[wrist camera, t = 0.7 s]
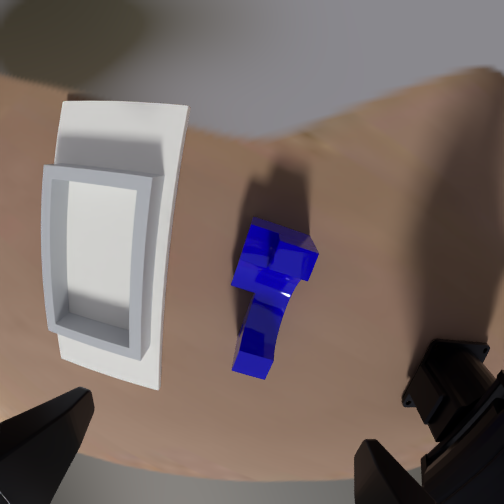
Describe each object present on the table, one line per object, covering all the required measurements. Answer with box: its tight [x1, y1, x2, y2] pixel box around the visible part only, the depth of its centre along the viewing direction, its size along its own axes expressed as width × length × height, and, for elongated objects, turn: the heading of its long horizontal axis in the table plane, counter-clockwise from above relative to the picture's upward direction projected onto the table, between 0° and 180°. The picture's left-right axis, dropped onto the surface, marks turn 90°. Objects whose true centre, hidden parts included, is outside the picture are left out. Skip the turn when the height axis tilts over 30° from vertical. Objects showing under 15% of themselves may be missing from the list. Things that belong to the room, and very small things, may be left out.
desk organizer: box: [41, 101, 191, 390], centre depth 19 cm, size 9×20×3 cm, turn 170°
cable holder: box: [231, 216, 319, 380], centre depth 18 cm, size 8×4×4 cm, turn 162°
